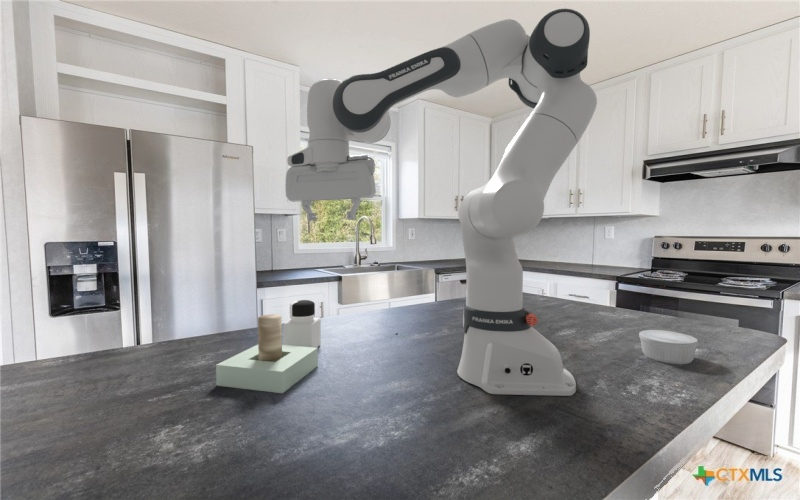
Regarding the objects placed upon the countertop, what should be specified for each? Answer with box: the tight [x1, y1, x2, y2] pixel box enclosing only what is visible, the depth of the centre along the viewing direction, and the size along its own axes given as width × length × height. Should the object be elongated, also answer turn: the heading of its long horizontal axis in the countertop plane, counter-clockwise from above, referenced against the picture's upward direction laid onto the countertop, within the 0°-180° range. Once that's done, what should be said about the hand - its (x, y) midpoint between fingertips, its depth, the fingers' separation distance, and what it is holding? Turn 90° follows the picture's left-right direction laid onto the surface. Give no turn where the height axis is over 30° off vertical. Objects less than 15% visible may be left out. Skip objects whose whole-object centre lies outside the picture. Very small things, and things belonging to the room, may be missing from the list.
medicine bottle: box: [282, 299, 322, 348], centre depth 91 cm, size 7×7×12 cm
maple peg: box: [257, 314, 283, 362], centre depth 74 cm, size 4×4×12 cm
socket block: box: [215, 344, 319, 394], centre depth 74 cm, size 14×14×4 cm
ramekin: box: [638, 329, 699, 365], centre depth 86 cm, size 11×11×5 cm
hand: (331, 220), depth 81 cm, fingers open, 8 cm apart
